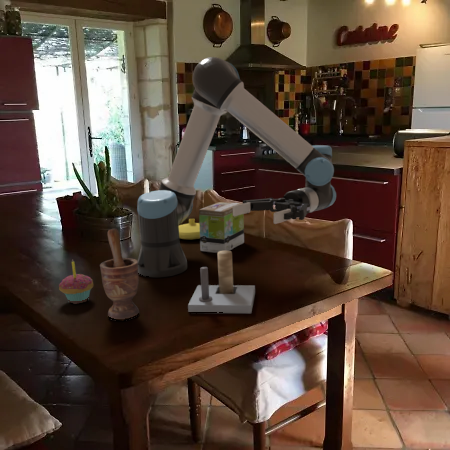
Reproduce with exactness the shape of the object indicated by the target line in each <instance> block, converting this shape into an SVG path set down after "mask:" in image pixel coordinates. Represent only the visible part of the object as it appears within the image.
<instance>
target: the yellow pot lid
mask: <svg viewBox="0 0 450 450" xmlns="http://www.w3.org/2000/svg"><path fill="white" fill-rule="evenodd" d="M195 221H196V220H195V218H189V219H188V223H184V224H179V238H180V239H182V240H198V239H199V240H200V223H199V222H195Z"/></svg>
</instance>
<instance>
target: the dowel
mask: <svg viewBox="0 0 450 450" xmlns="http://www.w3.org/2000/svg"><path fill="white" fill-rule="evenodd" d="M216 255H217V271H218V285H219V294H234V290H233V285H234V271H233V270H234V269H233V252H232V251H231V250H229V251H219V252H218V253H216Z"/></svg>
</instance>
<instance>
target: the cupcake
mask: <svg viewBox="0 0 450 450" xmlns="http://www.w3.org/2000/svg"><path fill="white" fill-rule="evenodd" d="M71 267H72V274H70V275H67V276H66V277H64V278H63V279H61V281H60V282H59V283H58V287H59V288H58V290H59V291H60V292H61V293H63V294H64V295H65V298H66V299H67V301H68V300H70V301H82V300H85V299H87V298H88V297H90V293H91V290H92V288H94V280H93V279H92V277H90V276H89V275H86V274H82V273H77V271H76V264H75V261H74V259H72V260H71ZM88 299H89V298H88Z"/></svg>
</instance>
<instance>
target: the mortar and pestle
mask: <svg viewBox="0 0 450 450" xmlns="http://www.w3.org/2000/svg"><path fill="white" fill-rule="evenodd" d="M107 240H108V243H109V246H110V247H109V248H110V250H111V254H112V258H111V259H107V260H105V261H103V262H101V263H100V264H99V267H100V274H101V282H102V287H103V290H104V292H105V295H106V296H107V298H108V299H109V300H111V301H112V306H110V307H109V309H108V312H107V317H108V316H109V317H111V318H114V319H125V318H130V317H133V316H135V315H137V314H138V313H139V314H140V309H139V308H138V306H137V305H136V304H135V303H134V302H133V298H134V297H135V296H137V295H136V294H137V293H138V289H139V283H140V280H139V279H140V277H139V276H140V274H138V259H135V258H130V257H129V258H128V257H127V258H126V257H123V255H122V248H121V236H120V232H119V229H117V228H111V229H108V231H107Z"/></svg>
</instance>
